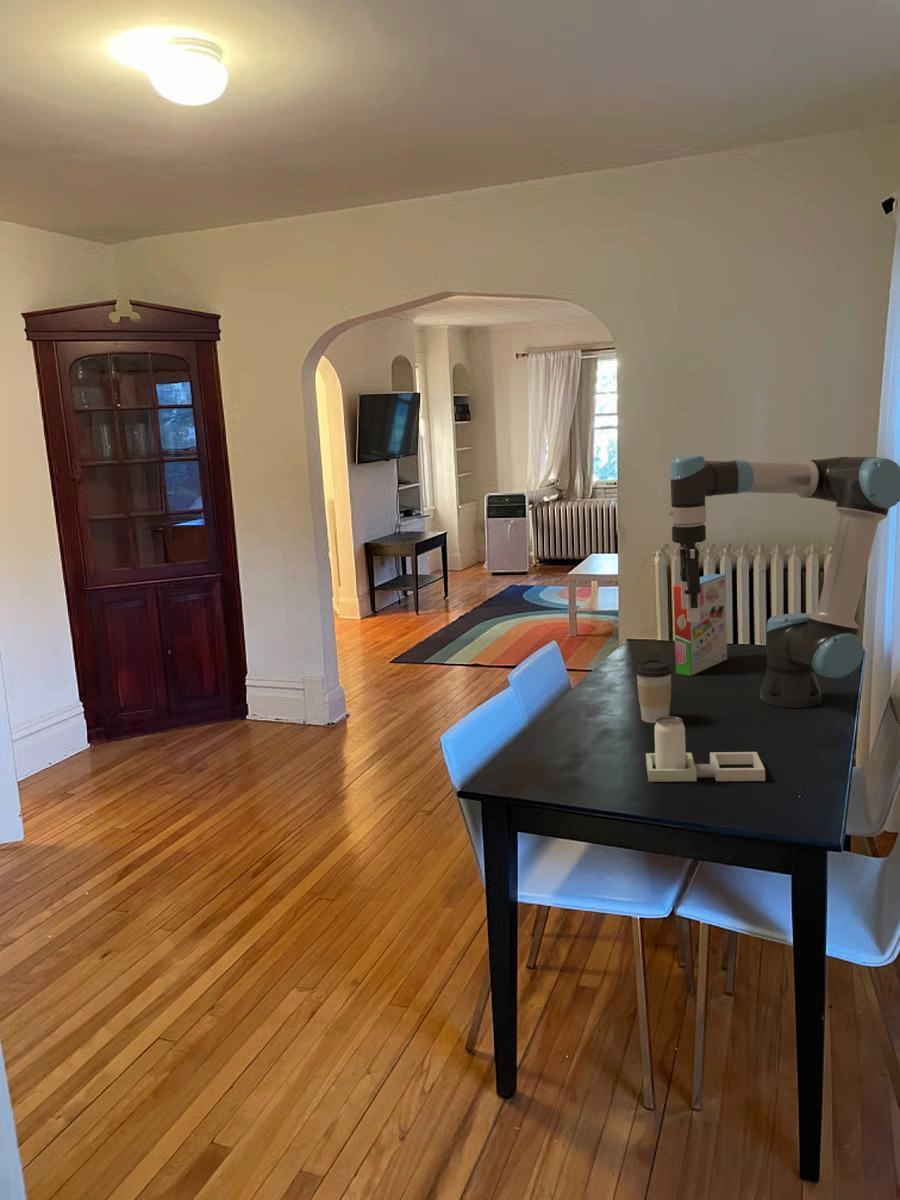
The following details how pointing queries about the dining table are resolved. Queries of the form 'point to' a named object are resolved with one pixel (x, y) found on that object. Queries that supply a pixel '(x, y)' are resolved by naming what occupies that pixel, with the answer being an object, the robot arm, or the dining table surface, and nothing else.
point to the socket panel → (710, 768)
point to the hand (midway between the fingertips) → (690, 614)
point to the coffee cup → (654, 689)
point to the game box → (701, 628)
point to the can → (670, 743)
